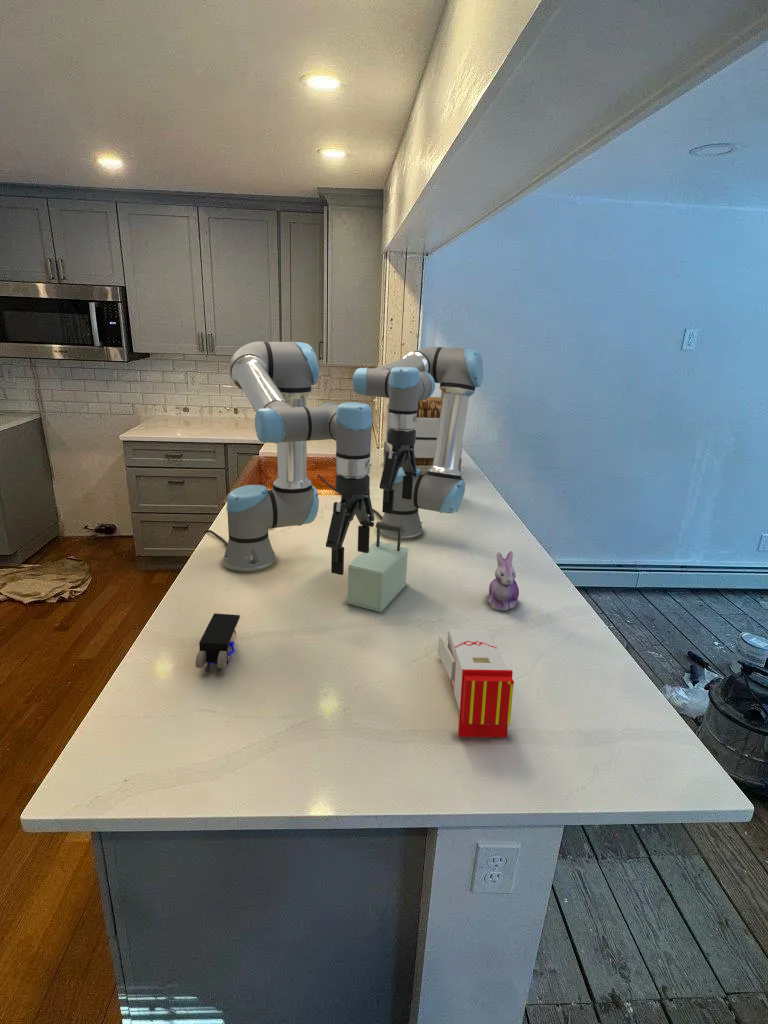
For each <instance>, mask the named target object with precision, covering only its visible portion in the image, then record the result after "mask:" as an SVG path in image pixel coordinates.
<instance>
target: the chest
mask: <svg viewBox="0 0 768 1024" xmlns="http://www.w3.org/2000/svg"><path fill="white" fill-rule="evenodd" d="M408 554H409V551H408V552H406V553H405V554H404V555H403V556H402V557H401V558H400V559H399V560H398V561H397V562H396V563H395V564H394V565H393V566H392V567H391V568H390V569H389V570H388V571H387V572H386V573H385V574H384V575H379V574H375V573H370V572H366V571H362V570H358V569H353V568H349V567H348V571H347V575H348V576H347V604H348V605H352V606H356V607H359V608H363V609H366V610H367V609H368V610H370V611H375V612H379V613H382V612H383V611H384V609H385V608H387V606H388V605H389V604H390V603H391V602H392V601H393V600H394V598H396V596H398V594H399V593H400V592H401V591H402V590H403V589H404V588H405V587H406V586H407V574H408V573H407V572H408V557H409V555H408Z"/></svg>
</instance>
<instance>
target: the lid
mask: <svg viewBox="0 0 768 1024" xmlns="http://www.w3.org/2000/svg"><path fill="white" fill-rule="evenodd" d="M375 528H376V541H375V542H374V543H373V544H372V545H371V546H369V553H363V552H361V554H360V555H358V556H357V557H356V558H354V559H353V560H352V561H350V563H348V568H353V569H358V570H362V571H366V572H370V573H375V574H379V575H384V574H385V573H386V572H387V571H388V570H389V569H390V568H391V567H392V566H393V565H394V564H395V563H396V562H397V561H398V560H399V559H400V558H401V557H402V556H403V555H404V554H405V553H406V552H408V553H409V549H410V548H409V547H406V546H401V541H402V540H401V532H402V530H403V527H402V526H398V525H393V524H388V523H383V522H382V521H377V522H376V523H375ZM380 529H383V530H388V531H393V532H398V540H396V541H397V542H396V543H397V544H392V543H387V542H382V541H381V539H380V538H381V534H380Z"/></svg>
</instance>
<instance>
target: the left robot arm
mask: <svg viewBox="0 0 768 1024" xmlns="http://www.w3.org/2000/svg"><path fill="white" fill-rule="evenodd" d="M318 362H319V361H318V358H317V354H316V352H315V350H314V349H313V347H312V346H311V345H310V344H309V343H306V342H300V341H299V342H298V341H252V342H249V343H247V344H245V345H243V346H241V347H240V348H238V350H236V351H235V353H234V354H233V356H232V357H231V359H230V362H229V374H230V375H229V376H230V377H231V380H232V382H233V383H234V385H235V386H236V387H237V388H238V389H239V390H240V389H241V390H242V391H243V393H244V394H245V396H246V397H247V400H248V401H249V403H250V404H251V406H252V407H253V409H254V411H255V414H254V429H255V433H256V437H257V440H258V441H259V442H261V443H265V444H266V443H267V444H276V451H277V455H276V456H277V478H275V479H274V480H273V481H272V489H268V488H267V487H266V486H265V485H263V484H246V485H241V486H239V487H236V488H234V489H233V490H231V491H230V492H229V493H228V495H227V497H226V512H227V529H228V531H227V533H228V540H227V541H226V540H225V539H224V538H223V537H222V536H220V535H219V534H217V533H216V532H215V531H213V530H211V529H207V530H205V531H204V534H207V533H210V534H212V535H213V536H215V538H217V539H219V540H220V541H221V542H222V543H223V544H224V545H225V546H226V548H225V551H224V555H223V565H224V567H225V568H226V569H228V570H230V571H233V572H237V573H256V572H261V571H264V570H267V569H269V568H272V566H274V564H275V563H276V554H275V551H274V550H273V547H272V544H271V540H270V537H269V530H271V529H278V528H279V529H280V528H285V527H295V526H296V527H297V526H298V527H299V526H300V527H301V526H302V525H308V524H311V523H312V522H314V521H315V520H316V517H317V516H318V512H319V506H320V499H319V498H320V497H319V493H318V489H317V487H315V486H314V485H313V482H312V481H311V479H309V477H308V472H307V471H308V470H307V469H308V468H307V464H308V463H307V462H308V461H307V459H308V458H307V452H308V451H307V441H308V442H310V441H327V440H333V441H335V449H336V450H335V473H336V475H335V489H336V491H337V492H336V491H335V492H336V493H337V494H339V493H340V494H339V495H340V496H341V497H340V502H339V501H334V502H333V504H332V505H333V507H332V508H333V509H332V515H331V519H330V524H329V529H328V533H327V537H326V542H325V548H329V549H331V558H330V559H331V560H330V561H331V563H330V565H331V566H330V567H331V568H330V569H331V570H330V571H331V574H334V575H338V576H339V575H340V576H343V575H344V573H345V546H343V545H344V541H345V538H346V536H347V533H348V531H349V530H348V529H349V527H350V523H351V522H353V520H354V518H355V517H356V519H357V521H358V523H359V524H360V525H358V527H357V529H358V530H357V552H359V553H369V548H370V536H371V535H370V533H371V531H370V530H371V528H373V527H374V525H375V515H374V512H373V509H374V508H373V505H372V501H371V489H370V487H371V486H370V485H371V483H370V482H371V481H370V480H371V476H370V475H369V474H370V472H371V466H372V465H373V464H372V461H371V450H372V449H371V448H372V431H373V430H372V429H373V428H372V427H373V418H372V417H373V415H372V408H371V406H370V405H369V404H367V403H361V402H353V401H350V402H342V403H339V404H338V403H330V402H328V403H325V404H322V405H321V406H307V398H308V397H309V395H310V394H311V393H312V386H314V385H317V383H318V381H319V375H320V374H319V373H320V372H319V363H318ZM370 527H371V528H370Z"/></svg>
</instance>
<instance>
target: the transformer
mask: <svg viewBox="0 0 768 1024" xmlns="http://www.w3.org/2000/svg"><path fill="white" fill-rule="evenodd" d="M440 393H441V394H440V396H430V397H428V398H427V399H425V400H423V401H418V408H417V418H418V421H416V428H415V431H416V440H415V444H414V454H415V461H416V467H417V466H418V467H431V466H432V465H433V459H434V453H435V446H436V439H437V433H438V426H439V419H440V413H441V406H442V400H443V392H442V391H440ZM388 409H389V402H388V404H387V405H386V413H385V414H386V415H385V423H386V424H387V423H388ZM388 429H389V427H388V426H387V425H386V428H385V438H384V442H383V465H384V464H385V460H386V452H387V451H392V445H391V444H389V443H388V442H387V430H388ZM463 442H464V440H462V444H463ZM462 453H463V445H462V446H461V452H460V459H459V465H458V470H459V472H460V473H461V472H462V461H463V460H462ZM401 468H402V467H401ZM461 474H462V473H461Z"/></svg>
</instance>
